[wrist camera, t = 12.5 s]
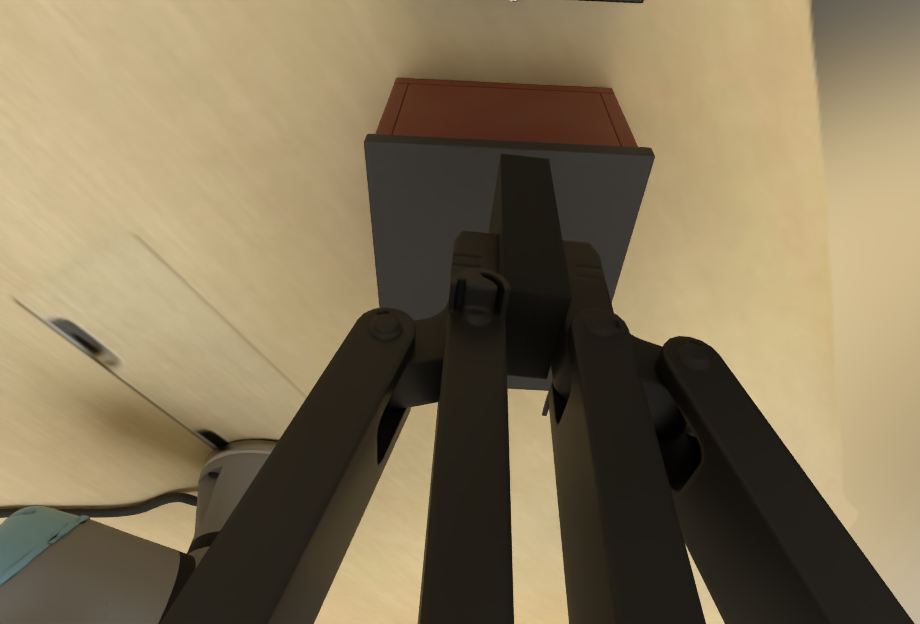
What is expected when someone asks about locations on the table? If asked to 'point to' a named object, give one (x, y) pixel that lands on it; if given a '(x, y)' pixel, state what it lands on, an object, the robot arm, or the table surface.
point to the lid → (487, 209)
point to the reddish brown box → (505, 112)
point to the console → (624, 0)
